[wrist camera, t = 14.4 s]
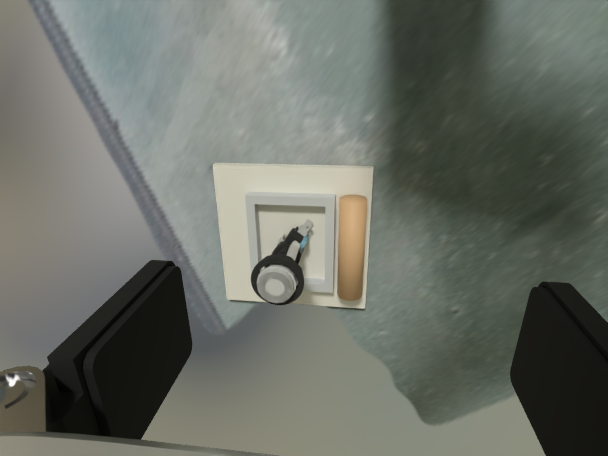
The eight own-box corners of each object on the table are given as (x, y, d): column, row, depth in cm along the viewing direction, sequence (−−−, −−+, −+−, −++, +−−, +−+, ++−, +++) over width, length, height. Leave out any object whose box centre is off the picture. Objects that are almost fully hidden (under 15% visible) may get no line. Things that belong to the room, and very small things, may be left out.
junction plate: (373, 166, 42) (374, 175, 38) (364, 304, 49) (365, 323, 45) (215, 162, 44) (202, 171, 41) (229, 295, 51) (219, 312, 48)
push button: (293, 205, 44) (275, 242, 35) (329, 232, 45) (322, 275, 36) (261, 245, 47) (237, 289, 38) (296, 270, 47) (281, 319, 38)
